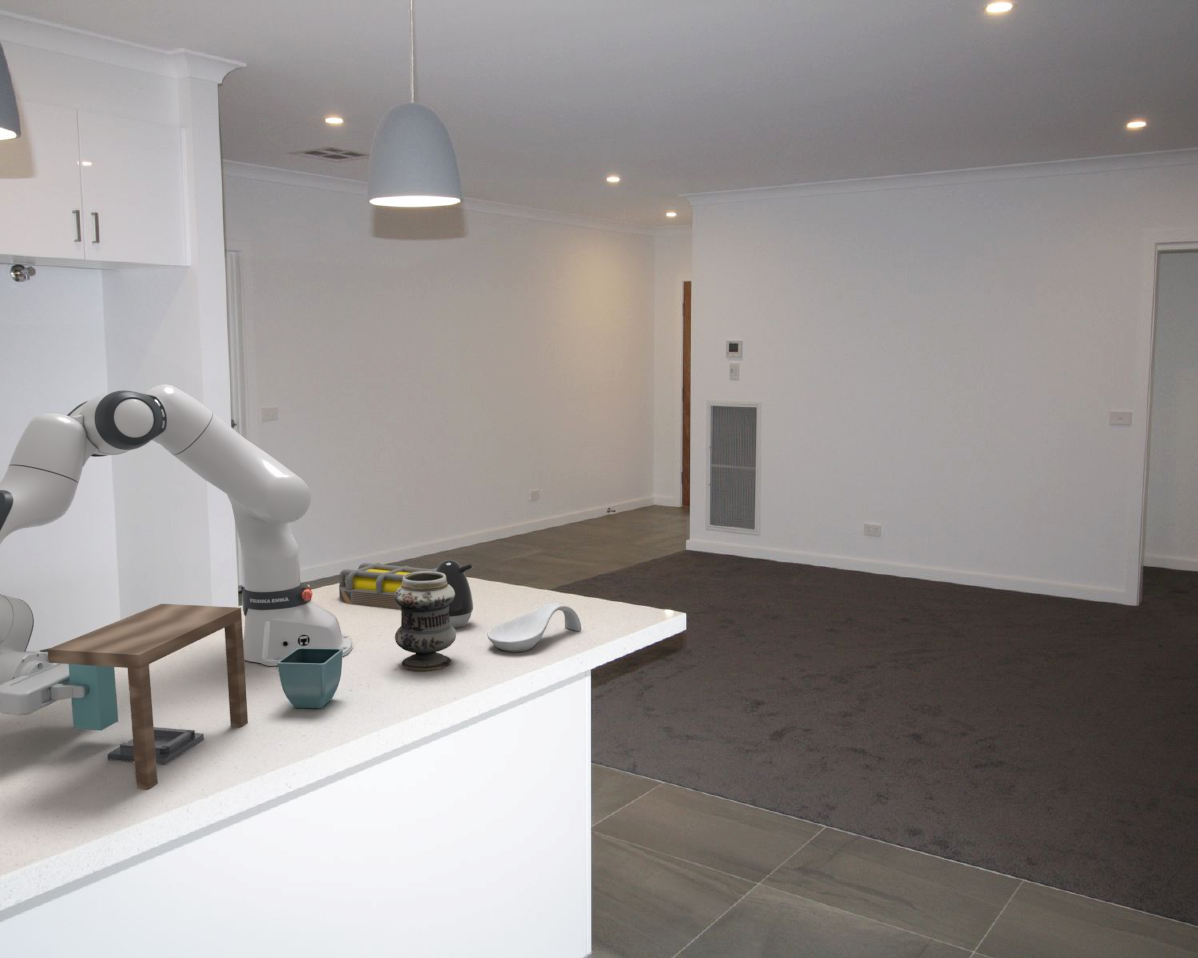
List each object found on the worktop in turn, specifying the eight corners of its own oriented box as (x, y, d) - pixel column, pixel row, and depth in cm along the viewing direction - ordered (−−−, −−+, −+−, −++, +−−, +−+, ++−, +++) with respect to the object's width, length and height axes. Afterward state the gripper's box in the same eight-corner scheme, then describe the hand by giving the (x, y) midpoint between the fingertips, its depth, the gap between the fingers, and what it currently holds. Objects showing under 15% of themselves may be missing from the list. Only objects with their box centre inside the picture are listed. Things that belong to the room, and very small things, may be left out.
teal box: (73, 728, 159) (67, 655, 158) (91, 718, 163) (85, 647, 161) (101, 730, 158) (95, 657, 157) (118, 721, 162) (112, 649, 160)
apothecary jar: (437, 676, 192) (434, 584, 190) (383, 669, 197) (380, 579, 194) (467, 657, 204) (465, 571, 201) (416, 651, 208) (413, 566, 206)
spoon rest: (515, 660, 202) (514, 626, 201) (476, 649, 210) (475, 616, 209) (593, 634, 220) (592, 602, 219) (554, 625, 228) (553, 594, 227)
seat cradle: (108, 759, 155) (107, 747, 155) (149, 734, 165) (148, 723, 164) (165, 764, 153) (164, 752, 153) (204, 739, 163) (203, 727, 162)
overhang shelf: (58, 780, 148) (47, 649, 145) (169, 716, 173) (161, 603, 170) (148, 789, 144) (138, 654, 142) (247, 722, 170) (241, 607, 167)
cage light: (428, 581, 237) (325, 570, 249) (429, 614, 238) (327, 602, 250) (460, 568, 250) (362, 559, 262) (461, 599, 251) (363, 588, 263)
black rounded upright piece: (467, 632, 221) (465, 565, 219) (422, 631, 223) (419, 564, 221) (479, 620, 231) (478, 555, 229) (436, 618, 233) (434, 554, 231)
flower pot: (278, 711, 175) (275, 662, 173) (300, 694, 183) (297, 646, 182) (326, 714, 173) (324, 663, 172) (346, 696, 182) (343, 648, 181)
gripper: (-31, 682, 152) (47, 688, 149) (66, 642, 172) (137, 647, 169) (-27, 722, 153) (51, 728, 150) (70, 678, 173) (140, 683, 170)
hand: (98, 685), depth 160 cm, fingers closed on teal box, 4 cm apart
